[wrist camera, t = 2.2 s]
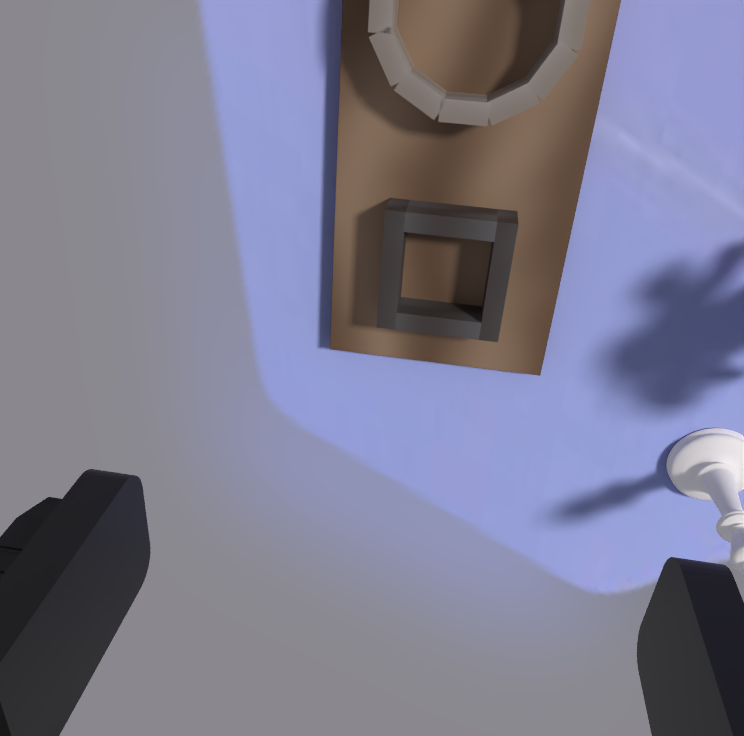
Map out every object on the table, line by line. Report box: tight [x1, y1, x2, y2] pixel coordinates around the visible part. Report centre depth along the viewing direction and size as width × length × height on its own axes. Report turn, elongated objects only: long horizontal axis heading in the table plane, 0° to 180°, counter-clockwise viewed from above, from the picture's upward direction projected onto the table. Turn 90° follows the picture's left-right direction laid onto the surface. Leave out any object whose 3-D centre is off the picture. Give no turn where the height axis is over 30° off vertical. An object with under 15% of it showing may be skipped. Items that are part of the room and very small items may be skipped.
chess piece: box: [666, 428, 744, 575], centre depth 38 cm, size 5×5×10 cm
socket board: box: [330, 0, 621, 375], centre depth 34 cm, size 12×24×3 cm, turn 176°
